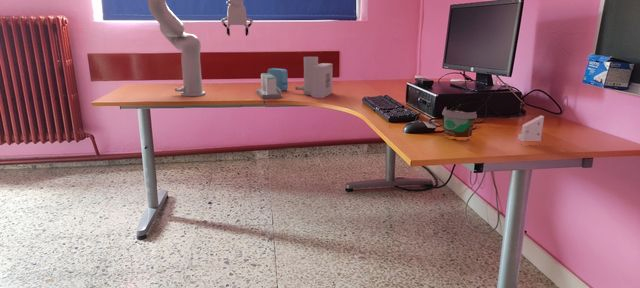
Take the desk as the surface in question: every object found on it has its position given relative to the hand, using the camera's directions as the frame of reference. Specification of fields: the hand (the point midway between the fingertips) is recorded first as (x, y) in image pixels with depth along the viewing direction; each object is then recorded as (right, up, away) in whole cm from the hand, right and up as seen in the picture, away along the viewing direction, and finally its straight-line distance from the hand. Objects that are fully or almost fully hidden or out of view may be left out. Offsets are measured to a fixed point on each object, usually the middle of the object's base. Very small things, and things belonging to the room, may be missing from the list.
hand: (237, 35), depth 242 cm
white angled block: (+115, -61, -96) cm, 162 cm away
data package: (+21, -29, +10) cm, 37 cm away
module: (+18, -32, -8) cm, 38 cm away
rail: (+18, -34, -7) cm, 39 cm away
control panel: (+41, -33, -5) cm, 53 cm away
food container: (+93, -58, -90) cm, 142 cm away
